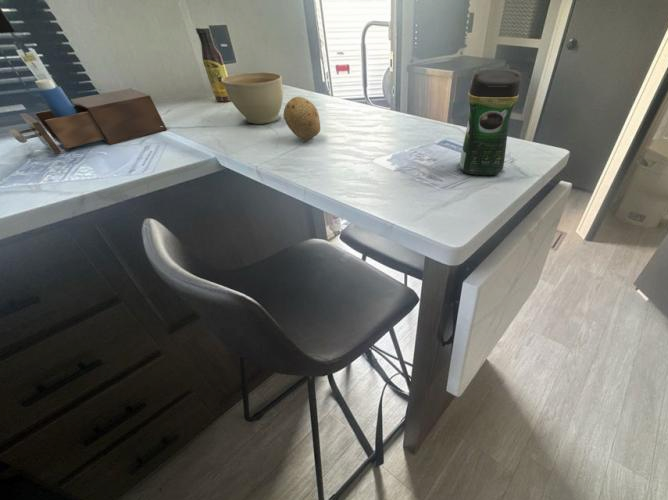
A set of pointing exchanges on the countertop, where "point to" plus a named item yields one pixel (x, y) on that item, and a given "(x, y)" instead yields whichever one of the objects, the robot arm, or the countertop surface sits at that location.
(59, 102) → the bottle
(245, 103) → the planter bowl
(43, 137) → the drawer
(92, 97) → the cabinet
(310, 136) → the potato
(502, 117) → the coffee jar
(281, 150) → the countertop surface
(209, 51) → the sauce bottle
